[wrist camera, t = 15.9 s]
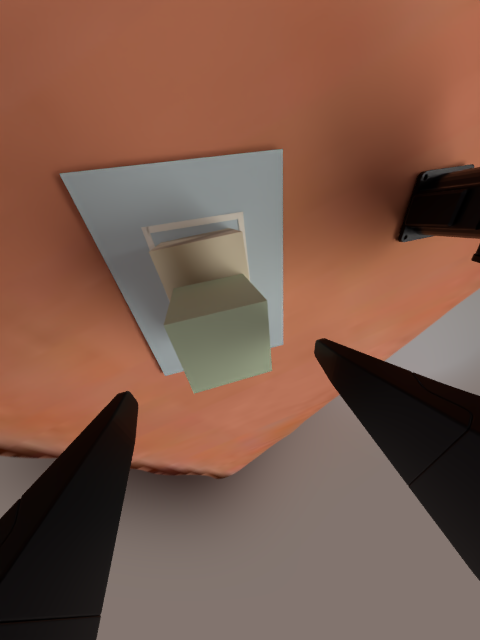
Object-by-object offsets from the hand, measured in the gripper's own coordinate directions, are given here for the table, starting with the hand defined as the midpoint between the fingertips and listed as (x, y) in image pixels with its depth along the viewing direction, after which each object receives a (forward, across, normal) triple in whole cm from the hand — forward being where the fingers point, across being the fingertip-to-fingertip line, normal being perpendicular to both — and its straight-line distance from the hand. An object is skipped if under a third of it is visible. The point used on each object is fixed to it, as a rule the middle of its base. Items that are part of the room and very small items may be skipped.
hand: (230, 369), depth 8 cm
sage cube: (+6, 0, 0) cm, 6 cm away
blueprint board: (+12, 0, 0) cm, 12 cm away
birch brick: (+11, 0, 0) cm, 11 cm away
